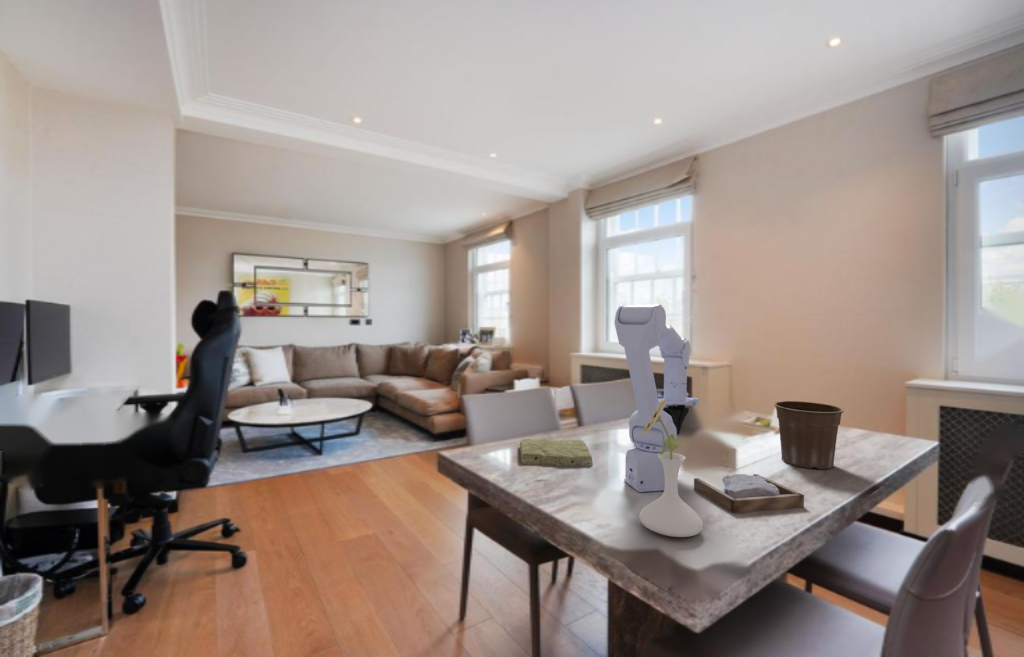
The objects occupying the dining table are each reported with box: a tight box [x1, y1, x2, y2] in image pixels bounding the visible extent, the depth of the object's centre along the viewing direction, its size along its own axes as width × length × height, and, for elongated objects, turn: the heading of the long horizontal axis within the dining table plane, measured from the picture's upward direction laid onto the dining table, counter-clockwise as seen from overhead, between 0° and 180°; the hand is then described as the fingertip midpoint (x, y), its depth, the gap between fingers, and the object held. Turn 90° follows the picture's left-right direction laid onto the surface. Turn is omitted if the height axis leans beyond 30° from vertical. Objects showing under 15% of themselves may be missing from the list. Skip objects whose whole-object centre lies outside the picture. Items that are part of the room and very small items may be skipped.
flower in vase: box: [638, 398, 704, 538], centre depth 83 cm, size 13×11×25 cm
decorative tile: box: [519, 438, 593, 467], centre depth 130 cm, size 19×20×4 cm
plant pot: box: [773, 400, 845, 470], centre depth 125 cm, size 16×16×16 cm
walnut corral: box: [693, 473, 805, 514], centre depth 100 cm, size 17×14×2 cm
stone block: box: [722, 473, 780, 499], centre depth 101 cm, size 12×5×10 cm
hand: (674, 433), depth 119 cm, fingers closed
